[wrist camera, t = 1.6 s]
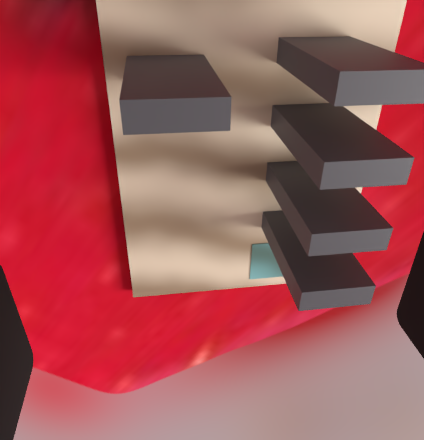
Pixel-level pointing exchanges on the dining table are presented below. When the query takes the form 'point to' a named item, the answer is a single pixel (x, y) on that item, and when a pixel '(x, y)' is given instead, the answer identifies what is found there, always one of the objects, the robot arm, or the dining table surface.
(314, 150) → the domino
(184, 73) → the domino
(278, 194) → the domino
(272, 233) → the domino
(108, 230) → the dining table surface
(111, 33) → the board
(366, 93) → the domino
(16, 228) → the dining table surface
